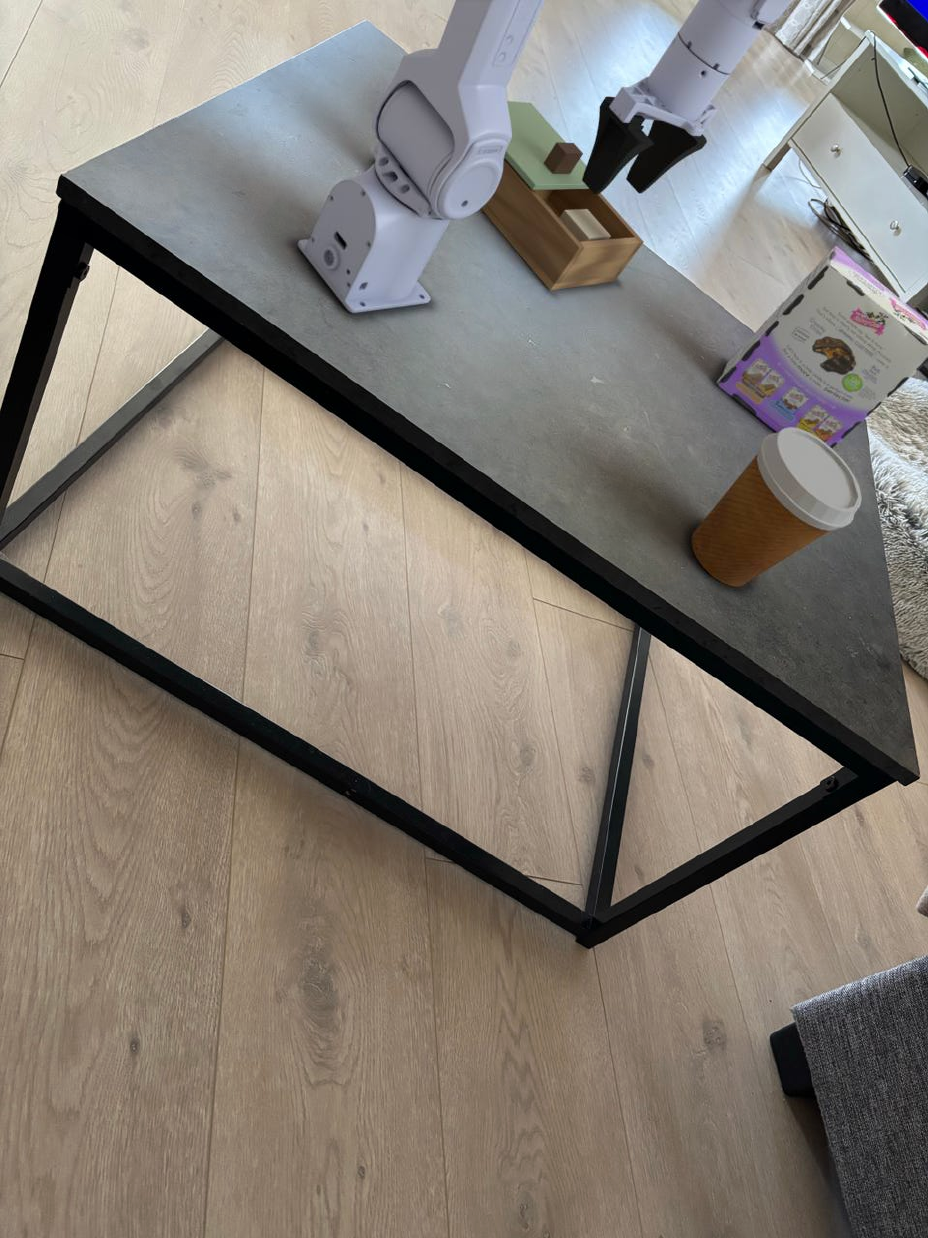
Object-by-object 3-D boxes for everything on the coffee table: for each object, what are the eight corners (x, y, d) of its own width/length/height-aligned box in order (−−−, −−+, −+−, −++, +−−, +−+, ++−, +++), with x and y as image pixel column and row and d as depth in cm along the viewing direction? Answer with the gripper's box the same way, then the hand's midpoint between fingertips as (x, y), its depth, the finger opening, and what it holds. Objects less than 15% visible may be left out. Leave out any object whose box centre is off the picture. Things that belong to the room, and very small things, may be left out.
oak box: (550, 290, 96) (579, 247, 92) (475, 202, 98) (501, 156, 95) (614, 281, 104) (644, 241, 100) (543, 199, 106) (570, 158, 103)
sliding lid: (532, 190, 94) (549, 163, 91) (456, 101, 96) (470, 73, 94) (599, 188, 101) (616, 163, 99) (528, 107, 104) (542, 81, 102)
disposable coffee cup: (745, 621, 81) (853, 536, 73) (660, 544, 81) (758, 450, 73) (774, 568, 88) (876, 484, 79) (696, 497, 88) (789, 406, 80)
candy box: (821, 440, 107) (943, 330, 95) (814, 465, 103) (941, 353, 91) (725, 362, 106) (837, 241, 95) (714, 384, 102) (829, 260, 90)
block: (566, 269, 98) (589, 237, 95) (543, 241, 99) (564, 209, 96) (589, 267, 101) (611, 235, 98) (566, 240, 102) (587, 208, 99)
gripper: (693, 77, 77) (595, 218, 87) (772, 88, 87) (677, 213, 97) (637, 19, 79) (548, 163, 88) (721, 36, 88) (633, 164, 98)
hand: (612, 186), depth 92 cm, fingers open, 7 cm apart
